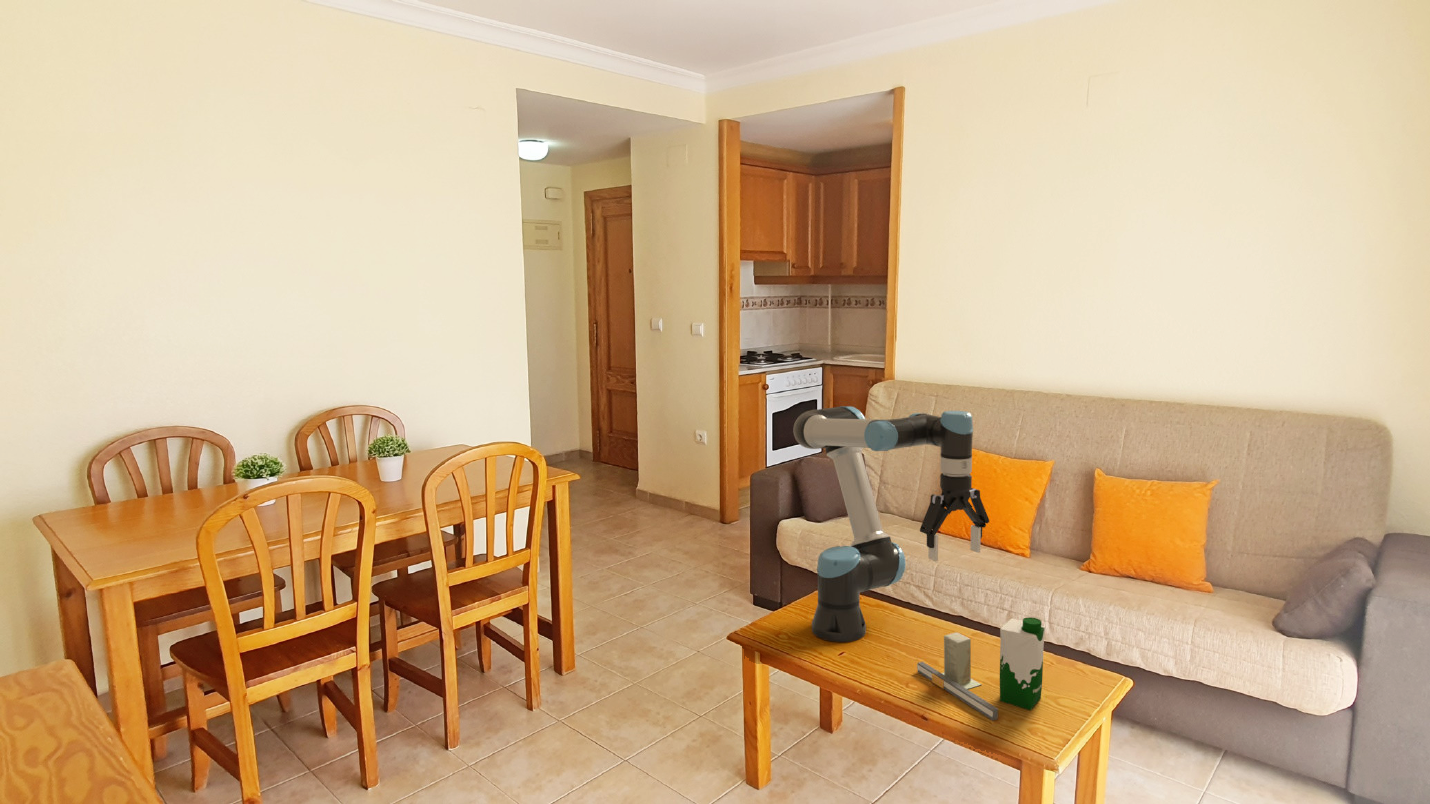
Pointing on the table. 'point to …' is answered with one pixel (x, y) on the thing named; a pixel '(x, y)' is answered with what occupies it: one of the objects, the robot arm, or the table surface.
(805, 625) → the table surface
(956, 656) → the box
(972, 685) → the pad
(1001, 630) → the fresh milk carton
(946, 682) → the rail
